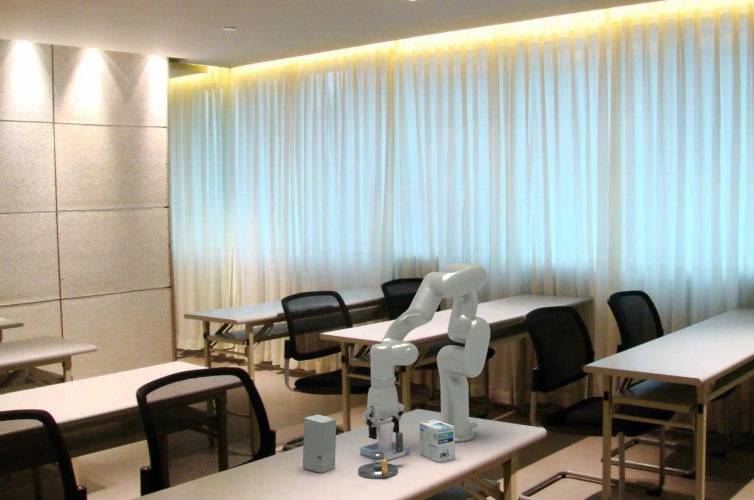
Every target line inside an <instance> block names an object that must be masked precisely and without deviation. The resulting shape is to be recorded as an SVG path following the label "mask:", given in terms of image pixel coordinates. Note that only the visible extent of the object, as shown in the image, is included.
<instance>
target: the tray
mask: <svg viewBox="0 0 754 500" xmlns="http://www.w3.org/2000/svg"><path fill="white" fill-rule="evenodd" d="M392 451H396V441H392V445H391V452H392ZM403 451H405V455H403V456H400V457H396V458H393V459H390V460H387V462H389V461H393V460H395V459H396V460H397V459H399V458H403V457H405V456H408V455H410V446H408V445H405V444H403ZM372 452H379V447H378V441H377V442H373V443H369V444H367V445H363V446H360V447H359V453H360V454H359V455H360V456H363V457H366V458H369V459H372V458H371V453H372ZM387 453H389V452H387ZM384 454H386V453H384Z"/></svg>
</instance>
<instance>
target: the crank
mask: <svg viewBox="0 0 754 500" xmlns="http://www.w3.org/2000/svg"><path fill="white" fill-rule="evenodd" d="M395 443H396V451H392V452H389V453H386V454H384V453H383V452H372V453H371V458H370V459H372V463H374V462H376V463H380V462H381V459H387V460H389V461H391V460H390V459H393V458H396V457H399V458H401V457H400V456H403V455H405V451H403V445H404V434H403V432H402V431H401V432H400V431H399V432H398V433H395ZM403 457H404V456H403ZM396 459H397V458H396ZM393 460H394V459H393Z"/></svg>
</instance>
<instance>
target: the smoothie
mask: <svg viewBox="0 0 754 500" xmlns="http://www.w3.org/2000/svg"><path fill="white" fill-rule="evenodd" d="M375 427H377V439H376V440H377V442H378V447H379V452H383V453H387V452H391V445H392V442H393V433H394V432H393V427H394V422H392V421H391V420H388V418H385V419H384V420H378V421H377V423H376V425H375Z"/></svg>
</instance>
